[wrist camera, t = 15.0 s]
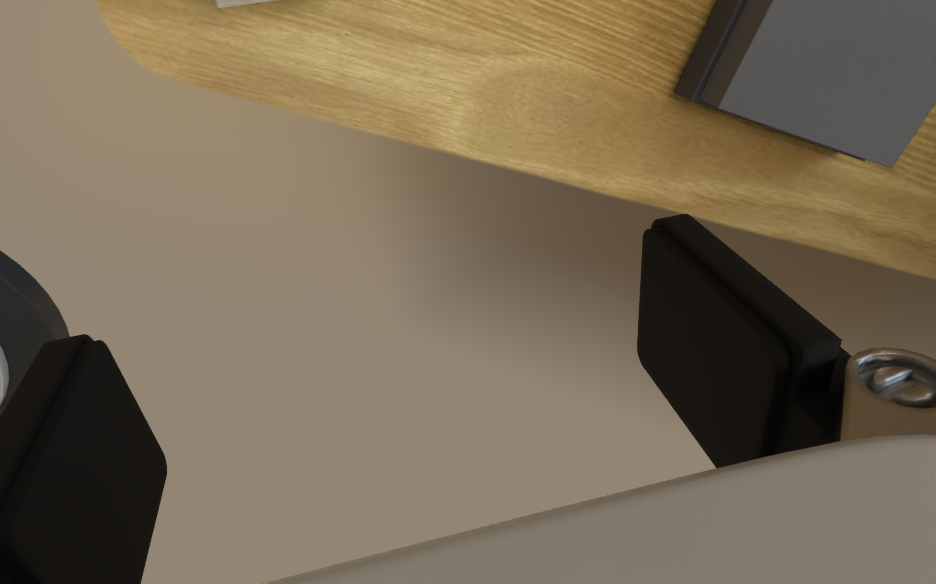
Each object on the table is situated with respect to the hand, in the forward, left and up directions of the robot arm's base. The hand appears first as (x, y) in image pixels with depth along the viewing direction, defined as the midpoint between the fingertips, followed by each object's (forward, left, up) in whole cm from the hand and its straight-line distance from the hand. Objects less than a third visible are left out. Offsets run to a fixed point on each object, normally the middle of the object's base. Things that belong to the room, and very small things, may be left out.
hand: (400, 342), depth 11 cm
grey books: (+17, -24, -28) cm, 41 cm away
